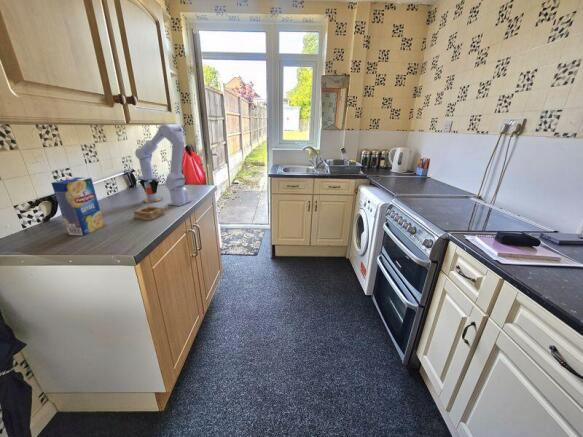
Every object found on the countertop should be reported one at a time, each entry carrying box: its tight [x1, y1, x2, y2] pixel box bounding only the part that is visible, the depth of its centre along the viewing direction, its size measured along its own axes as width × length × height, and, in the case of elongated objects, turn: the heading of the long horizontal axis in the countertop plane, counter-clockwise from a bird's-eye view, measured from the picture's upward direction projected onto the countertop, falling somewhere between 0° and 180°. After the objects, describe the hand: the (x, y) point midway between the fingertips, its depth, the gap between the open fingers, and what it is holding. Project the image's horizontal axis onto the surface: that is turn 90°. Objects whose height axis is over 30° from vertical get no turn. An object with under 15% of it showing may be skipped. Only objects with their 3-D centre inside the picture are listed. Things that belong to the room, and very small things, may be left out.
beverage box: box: [51, 176, 105, 236], centre depth 103 cm, size 7×11×22 cm, turn 176°
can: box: [144, 181, 158, 201], centre depth 148 cm, size 5×5×11 cm
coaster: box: [143, 197, 162, 204], centre depth 150 cm, size 9×9×1 cm
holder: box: [133, 205, 165, 221], centre depth 124 cm, size 9×9×4 cm
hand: (151, 192), depth 148 cm, fingers closed on can, 5 cm apart
